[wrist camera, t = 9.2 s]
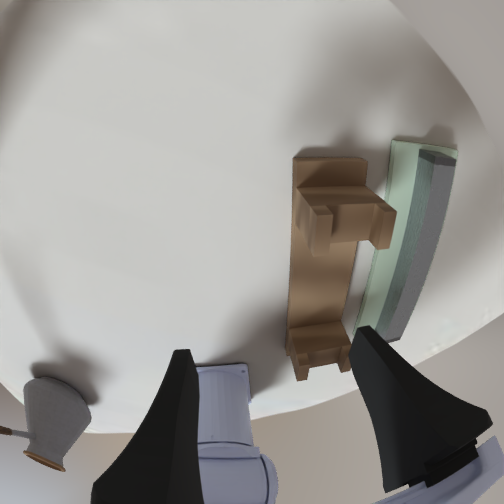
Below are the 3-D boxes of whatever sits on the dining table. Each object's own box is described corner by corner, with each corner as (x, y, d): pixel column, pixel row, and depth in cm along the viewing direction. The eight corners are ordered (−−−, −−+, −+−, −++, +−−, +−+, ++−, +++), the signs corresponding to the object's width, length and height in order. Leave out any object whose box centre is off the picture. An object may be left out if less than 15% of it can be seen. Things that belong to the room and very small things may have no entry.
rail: (392, 327, 27) (399, 339, 26) (374, 331, 27) (381, 344, 26) (440, 151, 17) (456, 159, 15) (419, 149, 17) (435, 156, 15)
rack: (330, 341, 28) (345, 380, 24) (285, 348, 28) (295, 390, 23) (361, 158, 18) (402, 182, 13) (292, 157, 17) (318, 182, 13)
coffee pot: (107, 411, 34) (97, 495, 21) (56, 405, 33) (41, 477, 21) (25, 316, 22) (-23, 431, 9) (-21, 317, 22) (-63, 404, 9)
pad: (404, 321, 28) (406, 325, 28) (352, 334, 28) (354, 338, 27) (453, 148, 18) (458, 150, 17) (391, 139, 17) (396, 141, 17)
